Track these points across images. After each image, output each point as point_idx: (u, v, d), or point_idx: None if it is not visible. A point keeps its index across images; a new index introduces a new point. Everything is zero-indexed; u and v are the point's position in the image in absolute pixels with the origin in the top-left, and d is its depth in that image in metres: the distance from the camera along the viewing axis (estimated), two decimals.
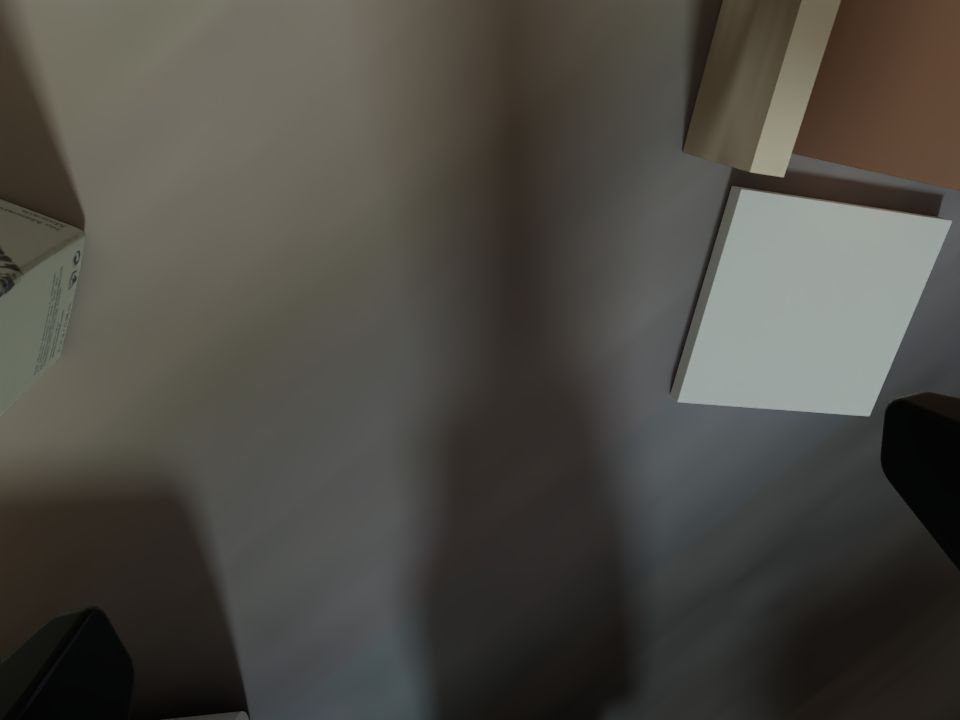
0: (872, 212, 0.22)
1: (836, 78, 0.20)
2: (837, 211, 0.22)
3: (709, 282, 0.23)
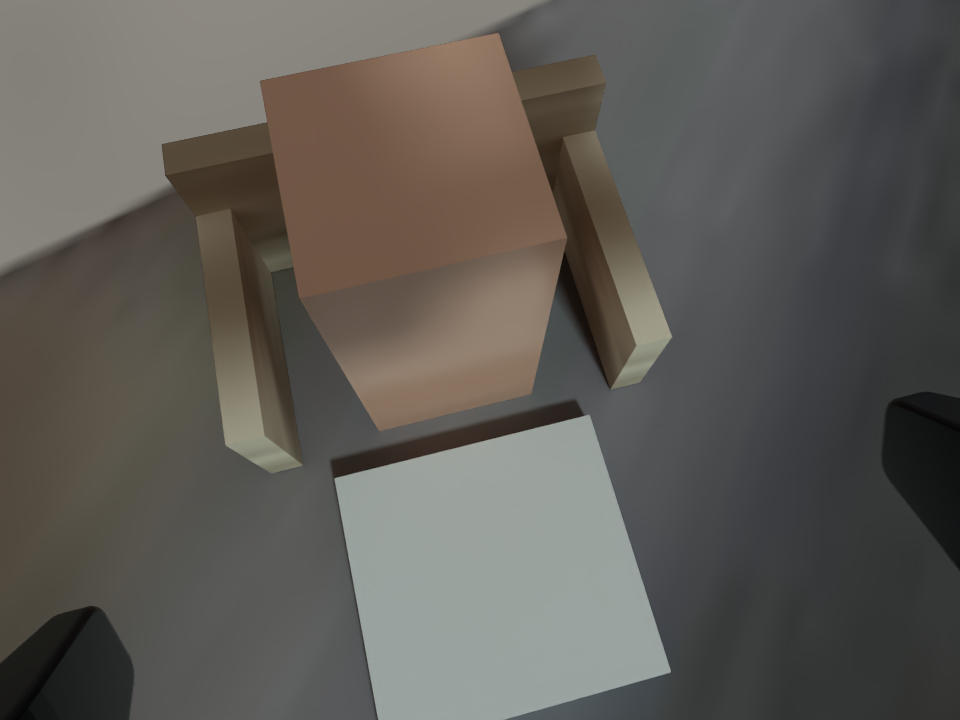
0: (492, 442, 0.21)
1: None
2: (452, 457, 0.21)
3: None
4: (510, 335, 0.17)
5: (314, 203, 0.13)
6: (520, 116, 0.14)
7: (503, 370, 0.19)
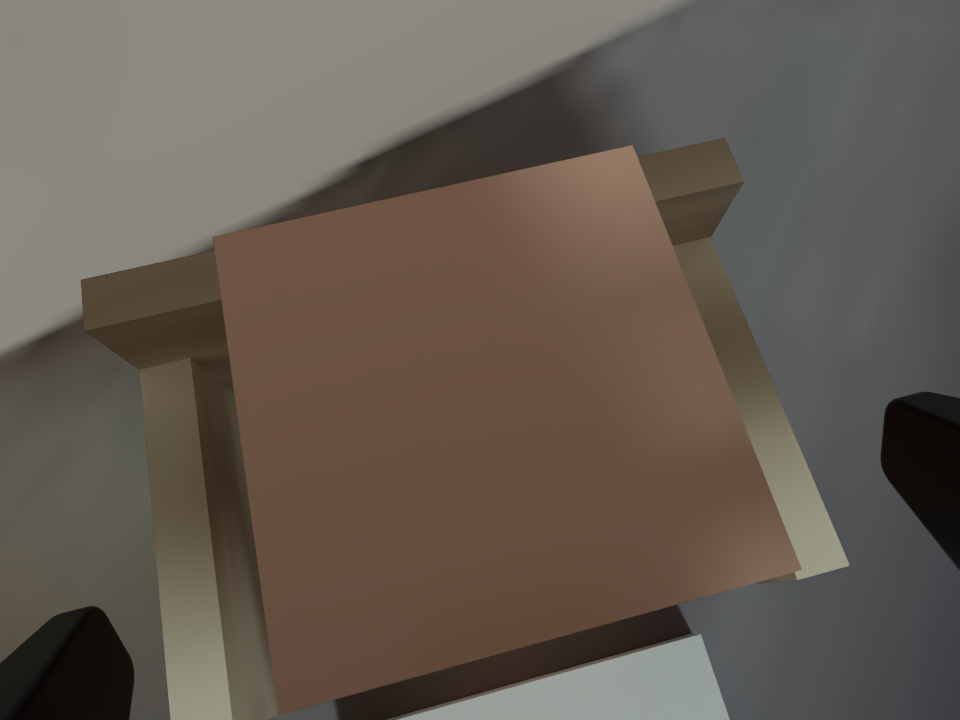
0: (564, 678, 0.15)
1: None
2: (508, 701, 0.15)
3: None
4: None
5: (309, 491, 0.07)
6: (687, 308, 0.07)
7: None
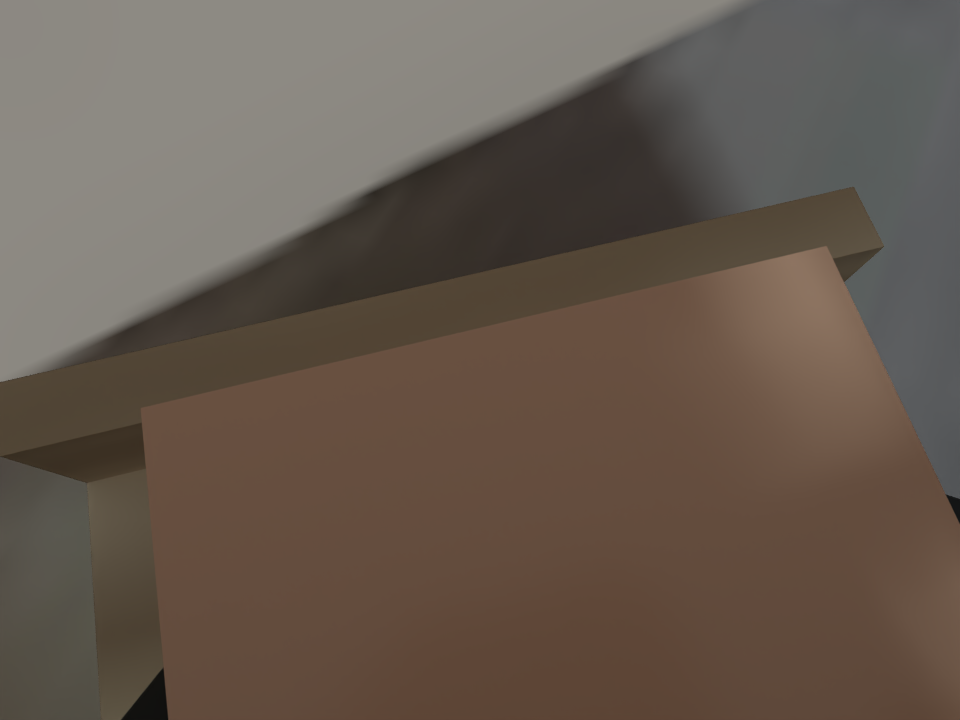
0: None
1: None
2: None
3: None
4: None
5: None
6: (953, 547, 0.04)
7: None
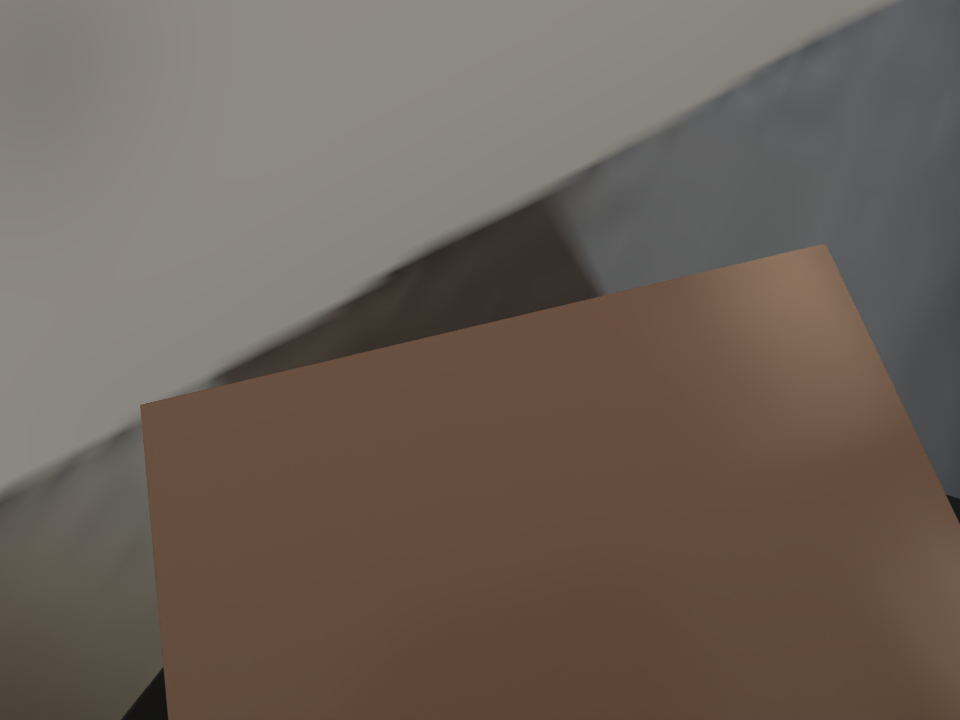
0: None
1: None
2: None
3: None
4: None
5: None
6: (952, 543, 0.04)
7: None
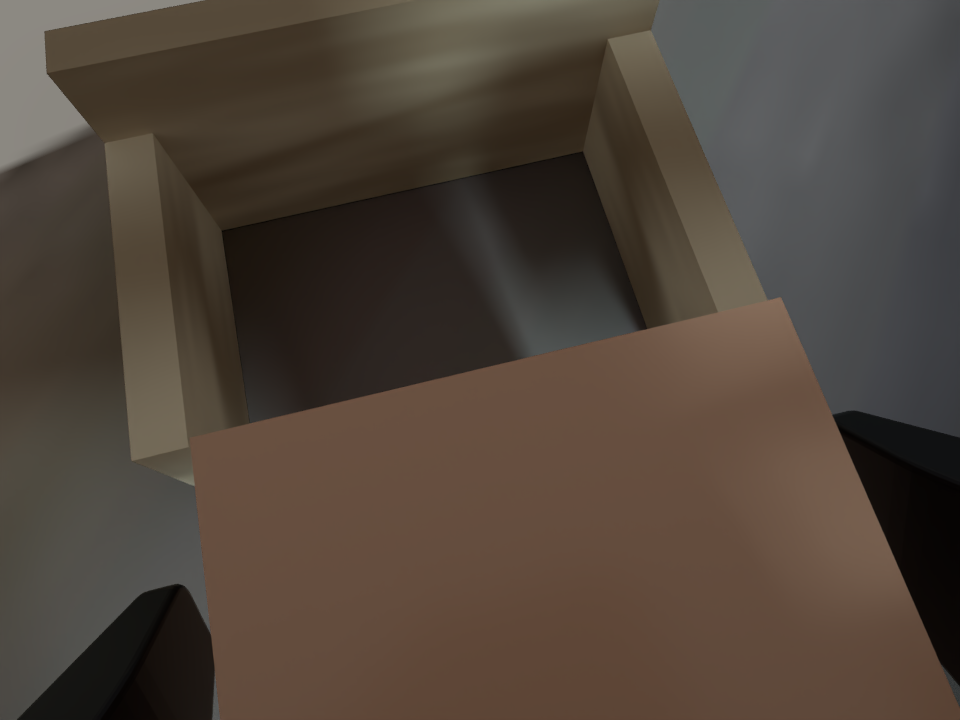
0: None
1: None
2: None
3: None
4: None
5: None
6: (880, 560, 0.05)
7: None
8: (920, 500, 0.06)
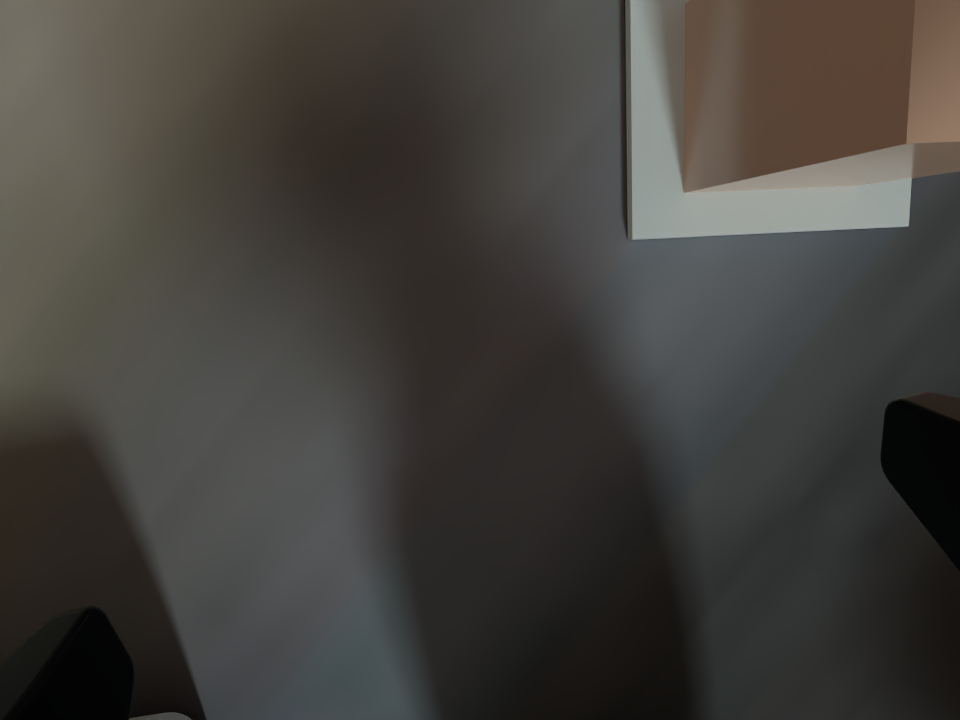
0: None
1: (699, 101, 0.18)
2: None
3: (629, 81, 0.19)
4: None
5: None
6: None
7: (890, 177, 0.16)
8: None
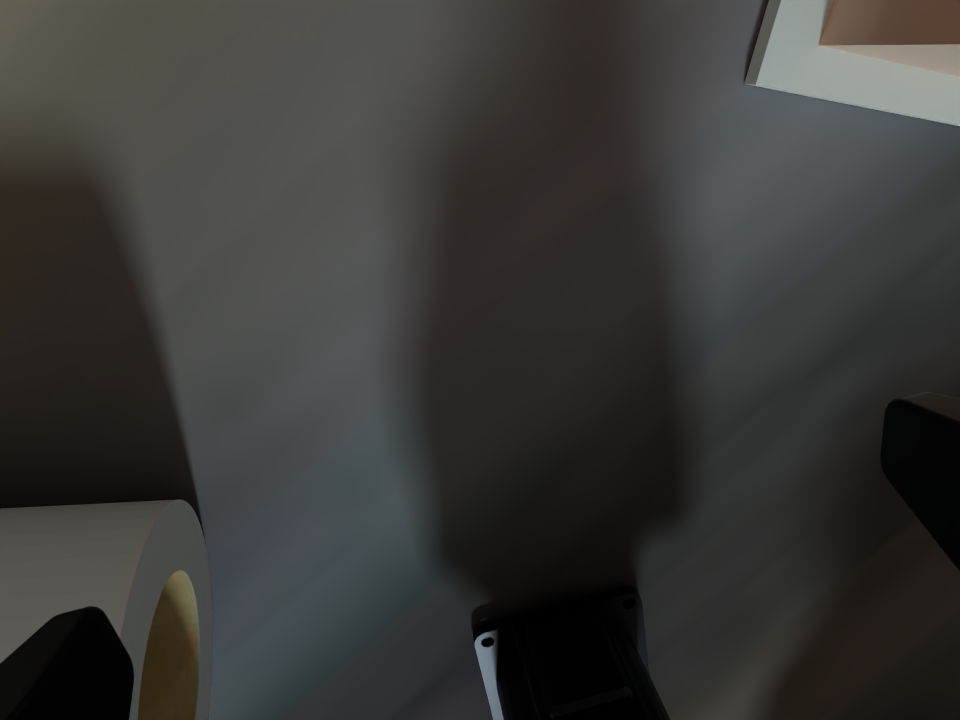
0: None
1: None
2: None
3: None
4: None
5: None
6: None
7: None
8: None
